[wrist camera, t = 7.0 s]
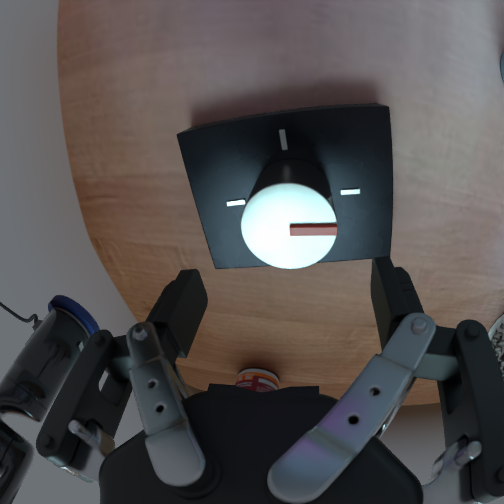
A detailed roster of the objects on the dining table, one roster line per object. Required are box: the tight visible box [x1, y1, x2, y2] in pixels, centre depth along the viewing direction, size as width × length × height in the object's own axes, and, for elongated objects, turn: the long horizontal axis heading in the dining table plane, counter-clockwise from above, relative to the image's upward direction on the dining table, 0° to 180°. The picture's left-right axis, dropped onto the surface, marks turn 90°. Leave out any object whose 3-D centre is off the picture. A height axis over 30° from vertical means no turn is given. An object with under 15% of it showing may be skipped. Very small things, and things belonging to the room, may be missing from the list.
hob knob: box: [240, 159, 338, 269], centre depth 18 cm, size 6×6×5 cm
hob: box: [177, 103, 393, 269], centre depth 22 cm, size 15×12×3 cm
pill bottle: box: [235, 369, 279, 392], centre depth 35 cm, size 6×6×11 cm
